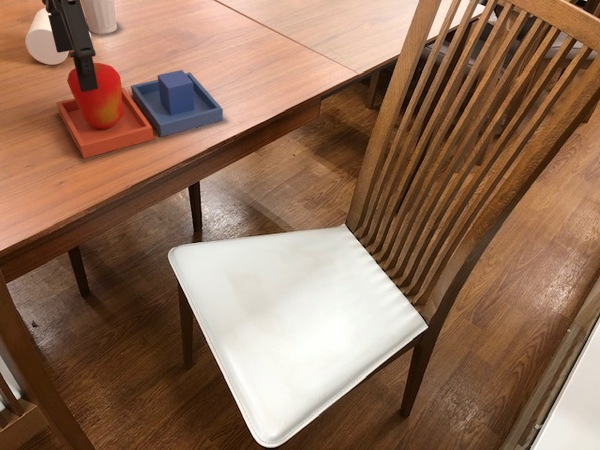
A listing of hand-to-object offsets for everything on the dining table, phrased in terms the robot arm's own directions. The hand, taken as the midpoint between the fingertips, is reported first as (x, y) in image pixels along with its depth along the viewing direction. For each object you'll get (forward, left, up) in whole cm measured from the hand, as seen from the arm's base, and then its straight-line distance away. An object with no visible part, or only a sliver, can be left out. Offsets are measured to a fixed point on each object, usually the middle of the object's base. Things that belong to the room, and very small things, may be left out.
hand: (76, 69), depth 87 cm
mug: (-26, +3, -11) cm, 28 cm away
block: (+4, +16, -10) cm, 19 cm away
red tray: (+3, +2, -10) cm, 11 cm away
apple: (+4, +2, -10) cm, 10 cm away
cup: (-35, +14, -11) cm, 39 cm away
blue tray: (+3, +16, -10) cm, 19 cm away
